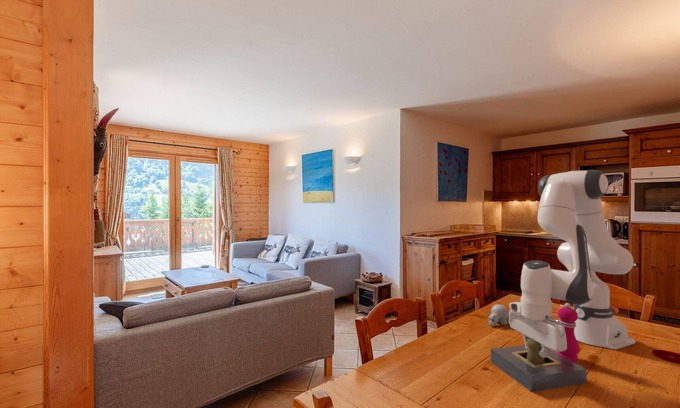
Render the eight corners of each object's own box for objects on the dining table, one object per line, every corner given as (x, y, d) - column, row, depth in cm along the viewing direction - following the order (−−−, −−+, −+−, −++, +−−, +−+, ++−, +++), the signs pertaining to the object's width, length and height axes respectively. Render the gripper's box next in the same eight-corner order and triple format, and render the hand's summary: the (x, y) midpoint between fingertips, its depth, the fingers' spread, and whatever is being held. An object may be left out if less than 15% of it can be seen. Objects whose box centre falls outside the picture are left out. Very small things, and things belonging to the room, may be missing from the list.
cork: (549, 377, 102) (549, 343, 102) (528, 375, 104) (528, 341, 103) (542, 368, 108) (542, 335, 108) (522, 365, 110) (522, 334, 109)
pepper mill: (575, 355, 117) (575, 301, 116) (583, 365, 110) (583, 307, 110) (552, 352, 119) (552, 299, 119) (558, 362, 112) (558, 305, 112)
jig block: (538, 355, 117) (539, 342, 117) (586, 383, 99) (586, 368, 99) (490, 361, 113) (490, 348, 112) (531, 391, 95) (531, 375, 95)
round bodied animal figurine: (484, 329, 147) (479, 313, 146) (500, 315, 153) (495, 299, 151) (498, 334, 141) (493, 318, 139) (514, 319, 146) (509, 303, 145)
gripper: (572, 322, 96) (572, 367, 96) (520, 300, 116) (520, 338, 116) (555, 323, 95) (554, 370, 95) (505, 302, 115) (505, 340, 115)
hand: (535, 352), depth 106 cm, fingers closed on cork, 4 cm apart
